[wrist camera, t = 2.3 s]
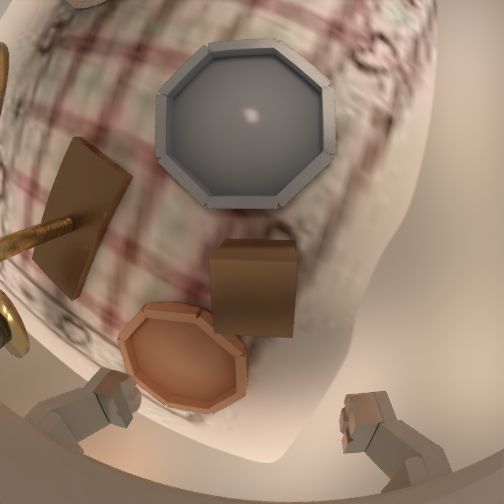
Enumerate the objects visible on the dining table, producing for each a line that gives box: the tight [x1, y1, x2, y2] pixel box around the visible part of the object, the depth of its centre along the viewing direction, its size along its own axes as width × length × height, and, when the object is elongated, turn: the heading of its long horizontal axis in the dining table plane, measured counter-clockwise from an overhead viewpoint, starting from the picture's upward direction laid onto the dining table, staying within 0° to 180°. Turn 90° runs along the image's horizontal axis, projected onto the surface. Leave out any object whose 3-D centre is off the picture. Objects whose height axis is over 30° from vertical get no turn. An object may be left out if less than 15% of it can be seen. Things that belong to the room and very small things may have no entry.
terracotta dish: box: [117, 302, 248, 414], centre depth 23 cm, size 12×12×2 cm
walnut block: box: [209, 239, 297, 338], centre depth 18 cm, size 5×5×5 cm
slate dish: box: [155, 39, 336, 209], centre depth 17 cm, size 12×12×2 cm
